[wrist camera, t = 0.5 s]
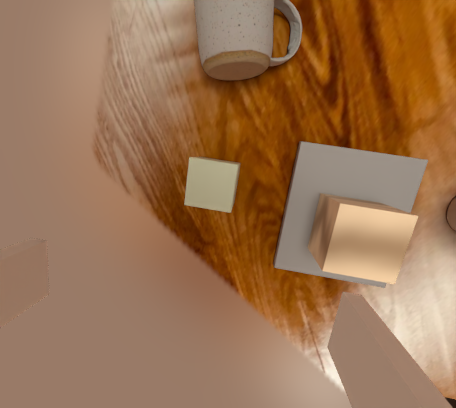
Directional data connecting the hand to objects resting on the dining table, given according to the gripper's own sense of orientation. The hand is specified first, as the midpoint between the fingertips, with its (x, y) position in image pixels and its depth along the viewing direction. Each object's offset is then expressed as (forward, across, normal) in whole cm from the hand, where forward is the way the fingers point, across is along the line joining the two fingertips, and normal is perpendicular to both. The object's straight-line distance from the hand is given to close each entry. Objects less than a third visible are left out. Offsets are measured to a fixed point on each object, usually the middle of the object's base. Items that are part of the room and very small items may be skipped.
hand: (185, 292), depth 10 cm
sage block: (+20, -2, +3) cm, 20 cm away
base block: (+19, +14, 0) cm, 24 cm away
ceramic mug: (+20, 0, +19) cm, 28 cm away
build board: (+20, +14, +1) cm, 25 cm away
